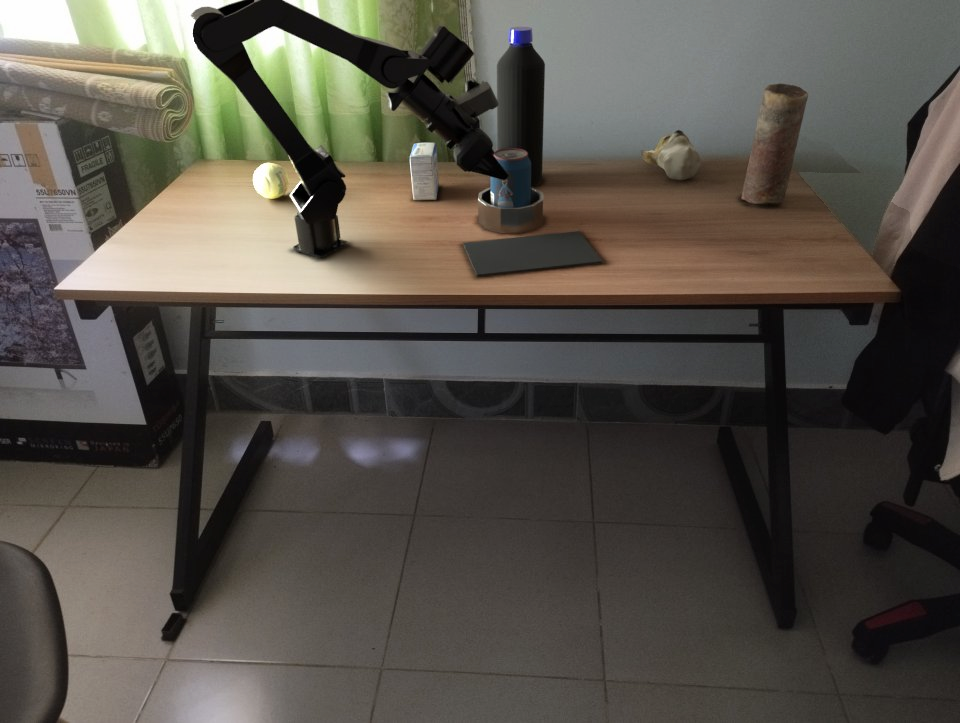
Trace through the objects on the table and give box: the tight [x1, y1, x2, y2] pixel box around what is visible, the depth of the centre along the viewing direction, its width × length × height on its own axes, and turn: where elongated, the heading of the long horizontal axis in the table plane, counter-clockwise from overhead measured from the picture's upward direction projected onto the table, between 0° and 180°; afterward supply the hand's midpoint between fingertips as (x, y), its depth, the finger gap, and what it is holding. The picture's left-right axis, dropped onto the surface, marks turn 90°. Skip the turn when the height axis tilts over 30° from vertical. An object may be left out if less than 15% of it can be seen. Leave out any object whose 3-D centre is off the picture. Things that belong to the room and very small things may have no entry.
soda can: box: [490, 148, 531, 207], centre depth 127 cm, size 7×7×12 cm
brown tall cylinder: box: [740, 83, 809, 206], centre depth 130 cm, size 8×7×20 cm
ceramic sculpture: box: [640, 129, 703, 181], centre depth 148 cm, size 11×9×15 cm
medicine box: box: [409, 142, 440, 201], centre depth 140 cm, size 8×4×9 cm, turn 179°
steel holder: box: [477, 186, 544, 234], centre depth 130 cm, size 11×11×4 cm
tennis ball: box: [252, 162, 290, 199], centre depth 141 cm, size 6×7×7 cm
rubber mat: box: [462, 230, 603, 278], centre depth 119 cm, size 20×12×1 cm, turn 101°
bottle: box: [496, 26, 546, 188], centre depth 140 cm, size 9×9×28 cm
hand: (501, 168), depth 125 cm, fingers open, 9 cm apart
